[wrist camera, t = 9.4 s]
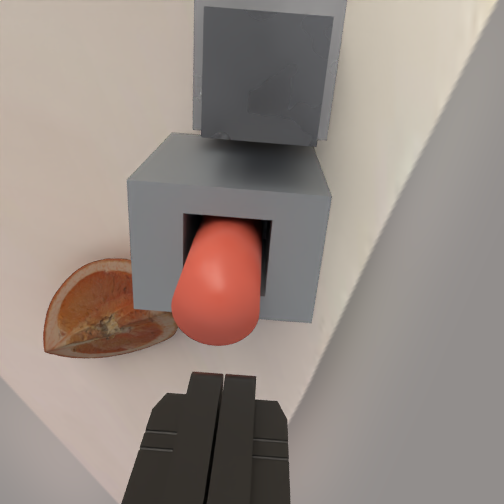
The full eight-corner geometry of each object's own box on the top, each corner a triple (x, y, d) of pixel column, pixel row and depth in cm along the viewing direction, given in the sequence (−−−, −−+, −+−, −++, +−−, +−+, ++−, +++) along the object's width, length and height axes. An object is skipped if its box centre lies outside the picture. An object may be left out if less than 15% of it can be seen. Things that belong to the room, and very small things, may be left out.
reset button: (199, 253, 22) (171, 341, 16) (200, 196, 21) (171, 267, 14) (259, 258, 22) (255, 349, 16) (265, 201, 21) (263, 275, 14)
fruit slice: (164, 230, 28) (144, 268, 24) (205, 314, 31) (194, 362, 27) (50, 268, 30) (12, 310, 25) (99, 345, 33) (72, 395, 28)
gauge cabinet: (172, 229, 28) (133, 308, 20) (171, 132, 25) (126, 179, 17) (299, 239, 28) (311, 323, 20) (312, 143, 25) (331, 196, 17)
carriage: (202, 116, 25) (166, 162, 16) (205, -10, 22) (164, -36, 13) (319, 126, 25) (346, 177, 16) (336, 0, 22) (379, -18, 13)
